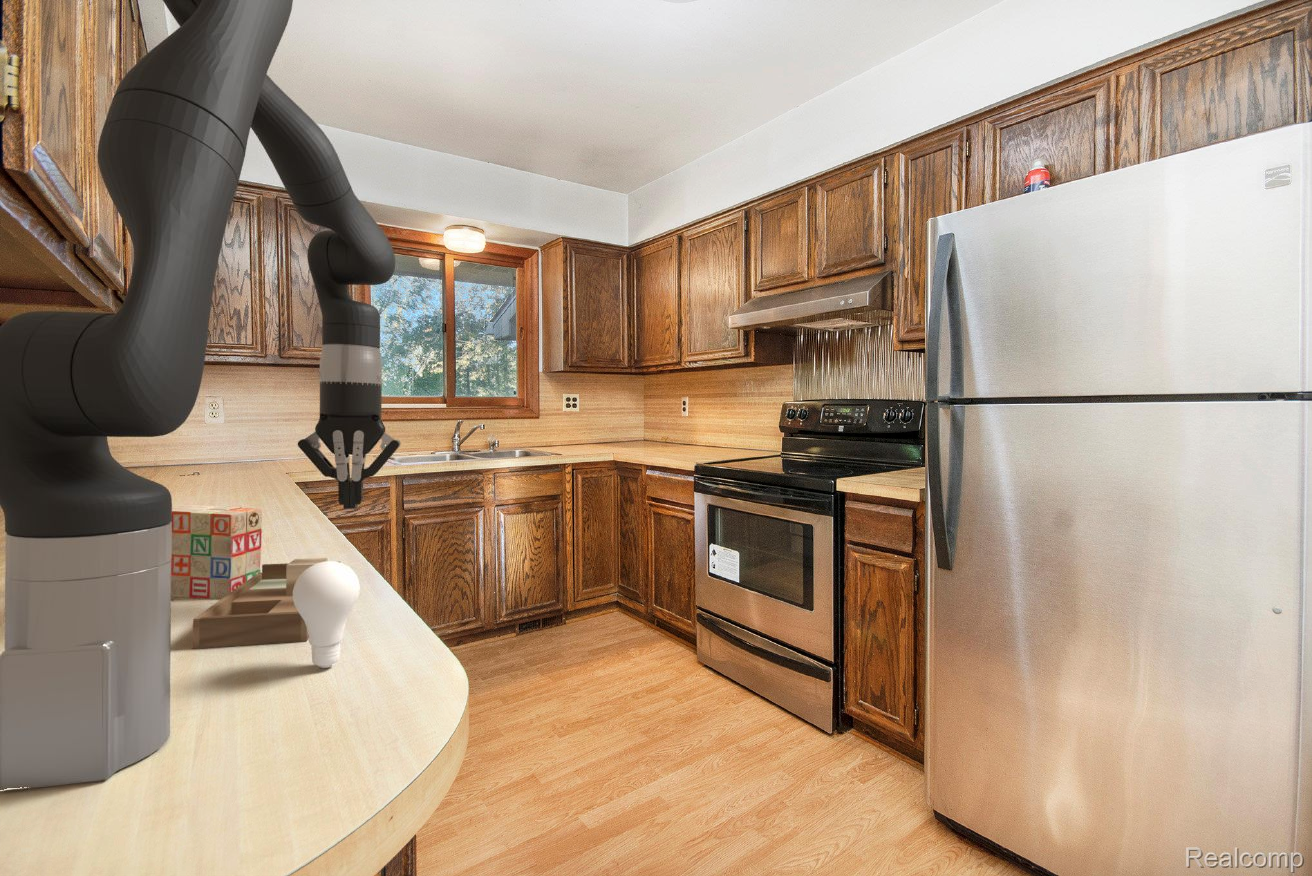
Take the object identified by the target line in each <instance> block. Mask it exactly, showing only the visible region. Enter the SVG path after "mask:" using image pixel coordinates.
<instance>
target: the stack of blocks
mask: <svg viewBox="0 0 1312 876" xmlns="http://www.w3.org/2000/svg"><path fill="white" fill-rule="evenodd" d="M262 515H263V509H262V508H253V507H251V508H249V507H242V506H235V505H234V506H233V505H232V506H231V505H222V506H221V505H220V506H219V505H218V506H217V505H196V504H195V505H192V504H191V505H190V504H183V505H176V506H172V521H171V522H172V556H171V597H172V598H173V597H175V598H177V597H178V598H192V599H194V598H196V599H210V600H211V599H214V600H221V599H222V598H224V597H225V596H227V595H228V594H229V593H231V592H232V591H234V590H235V589H236V588H238V587H239V586H241V585H242V584H243V583H245V582H246V581H248V580H249V579H251V578H252V577H253V576H255V575H256V574H258V573H261V554H262V552H261V551H262V532H263V531H262V518H263V517H262Z"/></svg>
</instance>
